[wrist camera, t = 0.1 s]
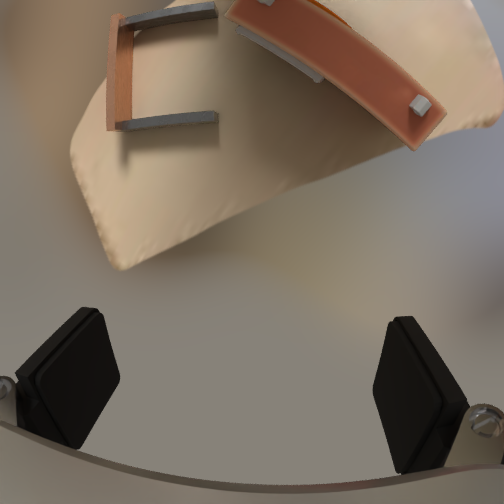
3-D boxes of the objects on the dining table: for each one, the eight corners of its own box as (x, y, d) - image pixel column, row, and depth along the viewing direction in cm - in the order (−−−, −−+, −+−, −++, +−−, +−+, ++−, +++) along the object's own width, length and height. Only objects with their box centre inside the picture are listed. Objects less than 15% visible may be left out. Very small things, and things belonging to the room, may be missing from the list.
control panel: (416, 97, 33) (458, 109, 20) (385, 134, 37) (411, 163, 24) (281, -1, 30) (255, -37, 18) (252, 38, 34) (212, 21, 22)
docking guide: (127, 26, 33) (111, 15, 28) (218, 10, 32) (210, -5, 27) (124, 131, 38) (106, 131, 33) (218, 122, 37) (210, 119, 32)
